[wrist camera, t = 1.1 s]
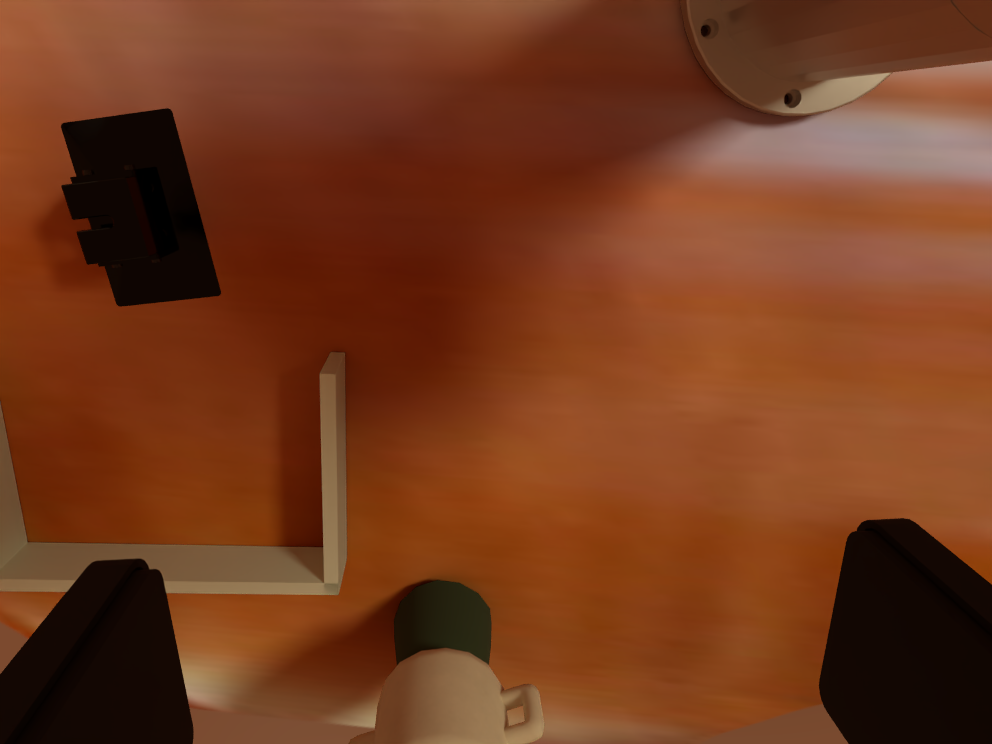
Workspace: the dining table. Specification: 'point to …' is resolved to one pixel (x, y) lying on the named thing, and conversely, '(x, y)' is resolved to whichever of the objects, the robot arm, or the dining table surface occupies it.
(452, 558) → the dining table surface
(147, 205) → the black piece
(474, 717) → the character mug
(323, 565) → the corral
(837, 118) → the dining table surface
